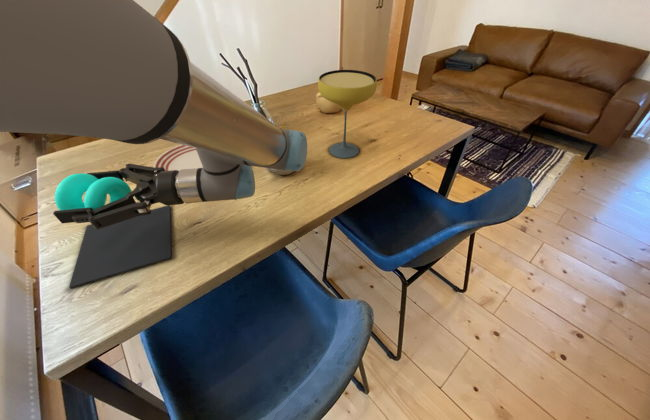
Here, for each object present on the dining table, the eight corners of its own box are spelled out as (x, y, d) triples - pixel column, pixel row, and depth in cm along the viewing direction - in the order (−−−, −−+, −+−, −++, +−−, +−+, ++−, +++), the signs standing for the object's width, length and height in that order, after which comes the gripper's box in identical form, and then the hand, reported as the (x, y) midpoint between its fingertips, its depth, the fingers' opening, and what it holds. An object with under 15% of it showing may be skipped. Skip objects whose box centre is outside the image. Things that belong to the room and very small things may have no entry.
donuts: (107, 198, 67) (82, 163, 60) (143, 203, 65) (121, 168, 58) (71, 227, 59) (38, 191, 53) (111, 234, 58) (82, 198, 51)
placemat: (70, 288, 59) (68, 287, 58) (88, 227, 72) (87, 225, 72) (171, 258, 64) (170, 257, 64) (170, 206, 78) (169, 205, 78)
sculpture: (322, 104, 133) (322, 80, 126) (346, 108, 129) (347, 84, 122) (312, 113, 125) (311, 88, 118) (337, 117, 122) (337, 92, 114)
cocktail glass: (377, 147, 102) (387, 75, 85) (351, 170, 91) (357, 92, 74) (337, 134, 110) (339, 66, 93) (309, 153, 99) (305, 80, 82)
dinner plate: (238, 141, 106) (236, 133, 104) (247, 181, 87) (244, 173, 84) (161, 153, 100) (157, 145, 97) (152, 199, 80) (147, 190, 78)
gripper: (174, 239, 54) (54, 252, 52) (198, 170, 72) (109, 177, 69) (158, 211, 49) (24, 224, 47) (188, 144, 66) (92, 151, 64)
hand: (75, 196), depth 58 cm, fingers closed on donuts, 12 cm apart
